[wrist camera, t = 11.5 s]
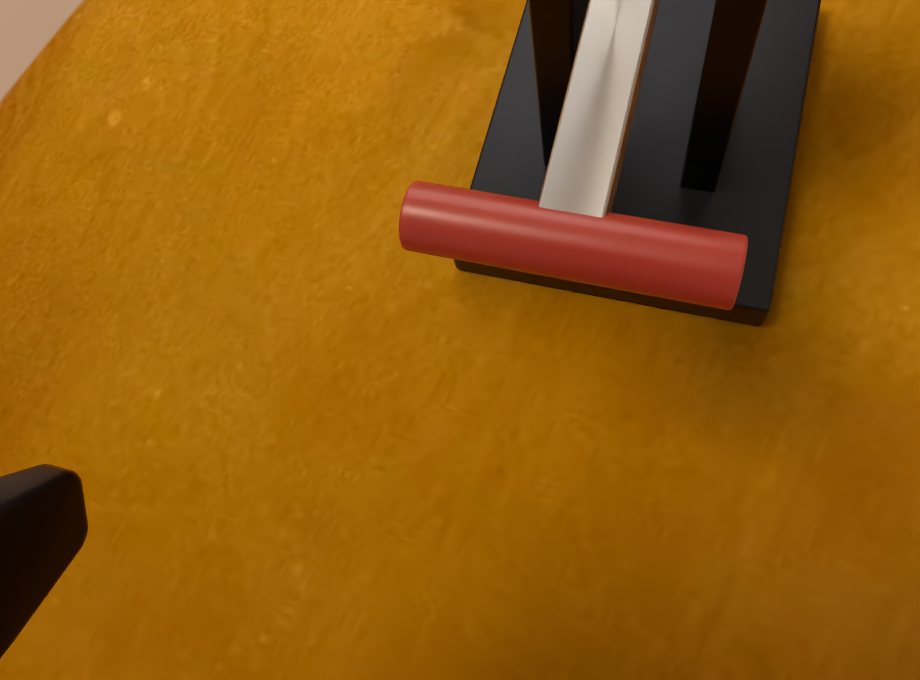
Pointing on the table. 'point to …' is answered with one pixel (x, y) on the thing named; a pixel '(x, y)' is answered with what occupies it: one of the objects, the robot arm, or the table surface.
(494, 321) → the table surface
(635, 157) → the bracket
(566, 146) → the lever
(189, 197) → the table surface
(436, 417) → the table surface
